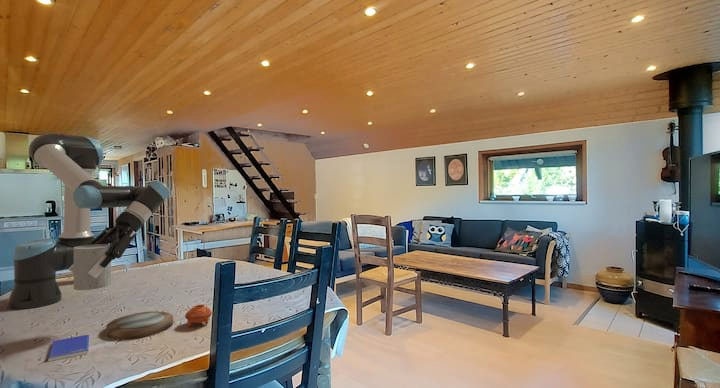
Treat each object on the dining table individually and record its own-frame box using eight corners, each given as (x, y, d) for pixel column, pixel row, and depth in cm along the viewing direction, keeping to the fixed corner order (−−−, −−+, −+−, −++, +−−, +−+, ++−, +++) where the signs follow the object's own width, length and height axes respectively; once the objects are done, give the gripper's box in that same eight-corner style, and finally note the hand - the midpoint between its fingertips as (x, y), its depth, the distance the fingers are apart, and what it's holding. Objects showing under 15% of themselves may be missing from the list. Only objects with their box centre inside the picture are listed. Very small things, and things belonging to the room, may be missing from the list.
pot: (193, 330, 112) (190, 308, 112) (182, 330, 117) (179, 308, 117) (218, 322, 118) (215, 301, 119) (206, 322, 123) (203, 302, 124)
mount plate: (92, 332, 110) (93, 324, 110) (149, 314, 126) (149, 307, 126) (131, 343, 102) (131, 335, 102) (185, 322, 119) (185, 315, 119)
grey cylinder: (106, 280, 119) (106, 243, 119) (115, 285, 113) (115, 246, 113) (69, 286, 112) (69, 246, 112) (78, 292, 106) (77, 250, 106)
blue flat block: (88, 349, 96) (89, 334, 106) (48, 357, 91) (52, 340, 101) (88, 355, 96) (89, 339, 106) (48, 363, 91) (52, 346, 102)
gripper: (162, 226, 121) (113, 284, 107) (121, 223, 131) (71, 276, 117) (147, 211, 117) (93, 270, 102) (105, 209, 126) (51, 263, 112)
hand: (81, 273), depth 110 cm, fingers closed on grey cylinder, 9 cm apart
